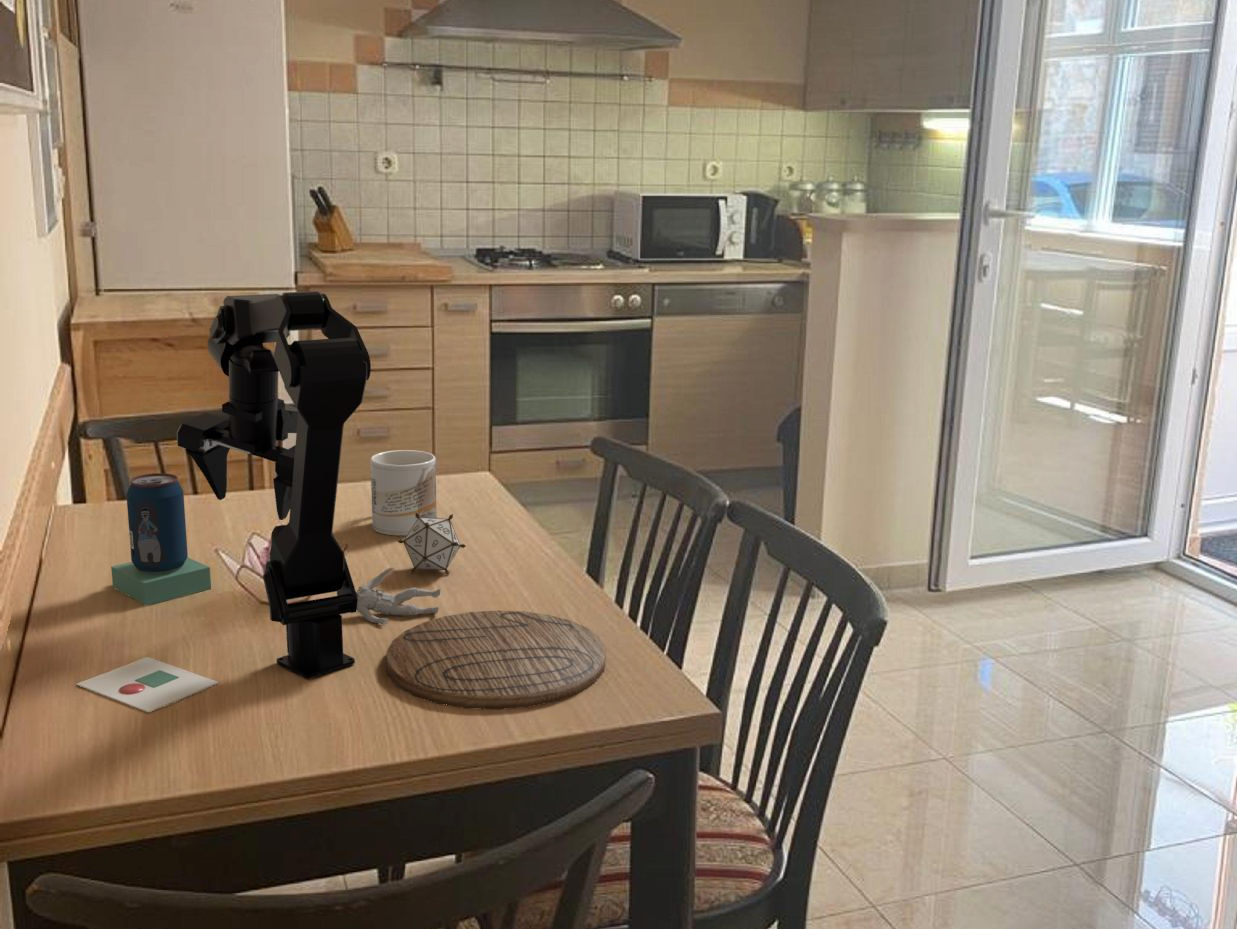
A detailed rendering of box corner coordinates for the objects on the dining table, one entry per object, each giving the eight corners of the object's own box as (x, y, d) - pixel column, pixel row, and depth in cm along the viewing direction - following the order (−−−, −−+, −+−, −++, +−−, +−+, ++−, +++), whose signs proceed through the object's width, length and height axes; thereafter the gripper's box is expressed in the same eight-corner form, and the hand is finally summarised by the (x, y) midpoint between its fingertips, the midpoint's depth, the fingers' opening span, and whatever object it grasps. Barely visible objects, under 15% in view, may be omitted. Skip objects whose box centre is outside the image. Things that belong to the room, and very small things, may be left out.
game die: (444, 592, 177) (484, 534, 177) (429, 591, 168) (472, 530, 169) (393, 556, 178) (434, 498, 178) (377, 553, 169) (419, 492, 170)
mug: (356, 531, 191) (354, 461, 188) (392, 510, 202) (391, 444, 199) (419, 539, 188) (418, 467, 185) (452, 517, 199) (451, 450, 197)
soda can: (181, 555, 169) (175, 469, 166) (194, 570, 163) (188, 481, 160) (127, 563, 165) (120, 475, 162) (138, 579, 160) (131, 488, 157)
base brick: (211, 588, 165) (209, 567, 165) (146, 605, 159) (144, 583, 158) (172, 570, 172) (170, 549, 171) (108, 585, 166) (106, 564, 165)
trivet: (369, 638, 151) (368, 623, 151) (566, 615, 160) (566, 601, 159) (411, 726, 128) (410, 709, 128) (638, 694, 137) (638, 678, 137)
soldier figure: (437, 632, 155) (343, 611, 151) (424, 646, 159) (332, 627, 155) (443, 576, 160) (351, 554, 155) (430, 591, 163) (340, 571, 159)
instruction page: (218, 683, 137) (218, 681, 136) (148, 713, 129) (148, 710, 129) (147, 658, 143) (147, 656, 143) (76, 685, 135) (76, 682, 135)
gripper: (356, 394, 156) (350, 505, 163) (231, 358, 162) (230, 466, 168) (304, 422, 147) (300, 539, 153) (173, 383, 152) (174, 497, 158)
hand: (251, 508), depth 158 cm, fingers open, 9 cm apart
